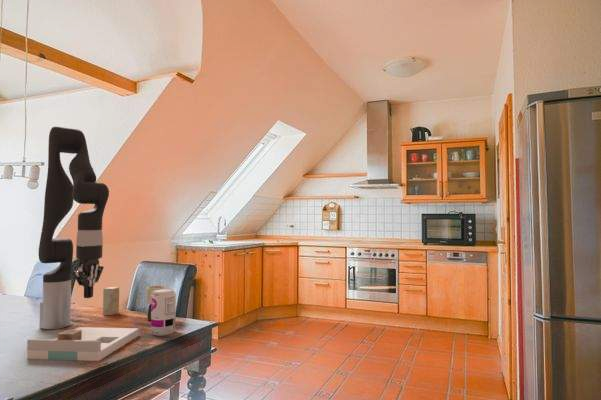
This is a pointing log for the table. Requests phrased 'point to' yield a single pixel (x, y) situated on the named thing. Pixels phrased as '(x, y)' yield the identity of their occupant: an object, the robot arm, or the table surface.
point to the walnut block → (70, 335)
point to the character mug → (148, 296)
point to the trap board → (82, 344)
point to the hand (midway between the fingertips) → (88, 297)
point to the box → (111, 301)
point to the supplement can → (163, 312)
